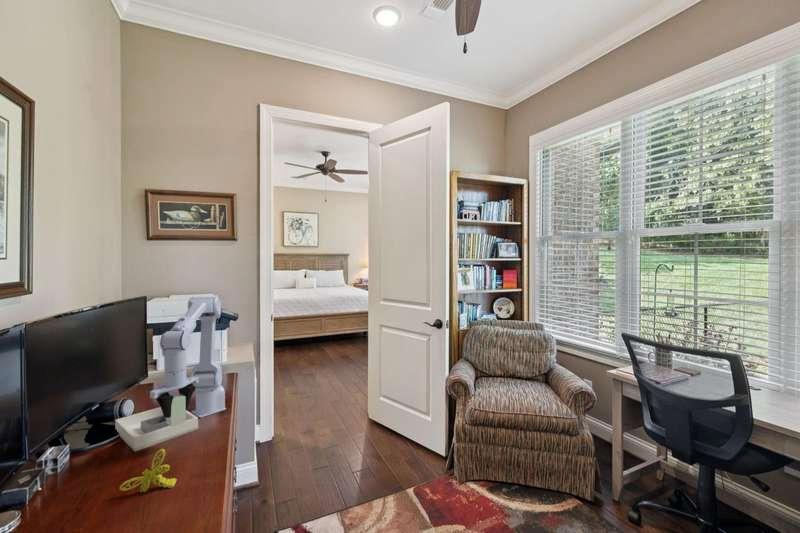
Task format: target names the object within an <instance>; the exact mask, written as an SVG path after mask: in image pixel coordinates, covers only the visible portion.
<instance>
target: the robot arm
mask: <svg viewBox="0 0 800 533" xmlns="http://www.w3.org/2000/svg"><path fill="white" fill-rule="evenodd" d="M221 314H222V301H221V299H220V297H219V296H190V298H189V299H188V302H187V311H186V313H185V315H184V316H181V317H179V318H178V320H176V322H175V323H174V324H173V326H172V328H171V329H170V330H167V331H165V332H164V333H162V334H161V337H160V341H159V347H160V349H161V355H162V357H163V358H164V361H163V362H164V364H163V365H164V384H162V385H161V386H159V387H157V388H155V389H154V390H153V389H152V390H150V391H149V399H153V400H156V402H157V404H158V405H159V407H161V409H162V412H163V415H164V417H166V418H169V417H171V405H172V400H173V397H174V396H173V395H171V393H172V392H175V391H178V394H182V395H184V396H185V397H186V410H187V411H188V410H189V405H190V402H191V398H192V396H193V394H194V392H195V409H193V410H191V413H192V414H193V415H195V416H196V417H198V418H201V419H202V418H205V417H208V416H210V415H214V414H216V413H221V412H222V411H225V410H227V408H226V391H225V389H224V386H223V385H222V382H223V372H222V366H221V365H220V364H218V362H215V344H216V343H215V341H216V339H215V338H216V322H217V319H219V318H220V317H221ZM198 319H199V320H200V322H201V324H200V343H199V345H200V346H199V361H198V362H199V363H198V364H196V365H195V366H194V367H192V369H191V373H190V374H191V375H190V377H187V349H188V347H189V344H190V340H191V338H192V336H191V335H192V333H193V332H194V331H195V329H196V327H197V320H198Z"/></svg>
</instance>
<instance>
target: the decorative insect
mask: <svg viewBox="0 0 800 533" xmlns="http://www.w3.org/2000/svg"><path fill="white" fill-rule="evenodd" d="M159 453H160V454H159ZM161 455H162V458H161ZM165 456H166V450H165V449H164V448H161V449H159V450H158V451H157V452H156V453H155V454H154V455H153V458H152V462H151V470H149V469H148V468H146V469H145V470H144V471H142V473H141V475H143V476H137V477H132V478H130V479H128V480H126V481H124V482H122V484H120V486H119V490H120V491H121V492H124V491H129V490H131V489H134V488H136V487H138V486H139V485H140V488H139V490H140V491H139V492H140V493H142V492H144V493H146V492H147V491H148V489H149V488H150V484H151V482H153V484H154V485H158V486H159V487H163V488H170V489H171V488H174V487H175V485H176V483H177V480H178V479H177V478H175V477H174V478H166V477H163V473H167V472H168V471H169V470H170V467H171V466H170V465H169V464H162V463H163V461H164V459H165ZM155 460H158V461H156V462H155ZM157 464H158V465H157ZM161 464H162V465H161ZM134 481H135V482H134ZM131 482H133V483H132V486H131V485H130V484H131Z"/></svg>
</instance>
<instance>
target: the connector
mask: <svg viewBox="0 0 800 533" xmlns="http://www.w3.org/2000/svg"><path fill="white" fill-rule="evenodd" d="M172 396H174V397H173V400H172V405H171V417H169V418H166V423H167V424H168V425H170V426H171V427H173V426H176V425H179V424H182V423H185V422H186V397H185V396H184V395H182V394H179V393H178V394H173V395H172Z"/></svg>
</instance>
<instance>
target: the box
mask: <svg viewBox="0 0 800 533" xmlns="http://www.w3.org/2000/svg"><path fill="white" fill-rule="evenodd" d="M114 422H115V425H114V427H115V429H116V430H117V432H118V433H119V435H120V436H119V435H118V436H119V437H120V438H121V439H122V440H123V441H124V442H125V443H126V444H127V445H128V446H129V448H130V449H132V451H133V452H138V451H141V450H144V449H146V448H149V447H152V446H154V445H158V444H159V443H160V444H161V443H163V442H165V441H169V440H171V439H175V438H178V437H180V436H182V435H185V434H188V433H192V432H194V431H196V430H198V429H199V417H198V416H197V415H195V414H193V413H192V412H190V411H188V409H187V410H186V422H185V423H182V424H179V425H176V426H173V427H171V426H170V425H168V424H167V423H166V417H164V415H163V412H162V409H161V407H160V406H159V407H155V408H151V409H148V410H145V411H142V412H138V413H134V414H131V415H128V416H124V417H120V418H117V419H115V420H114ZM115 429H114V430H115Z"/></svg>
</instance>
